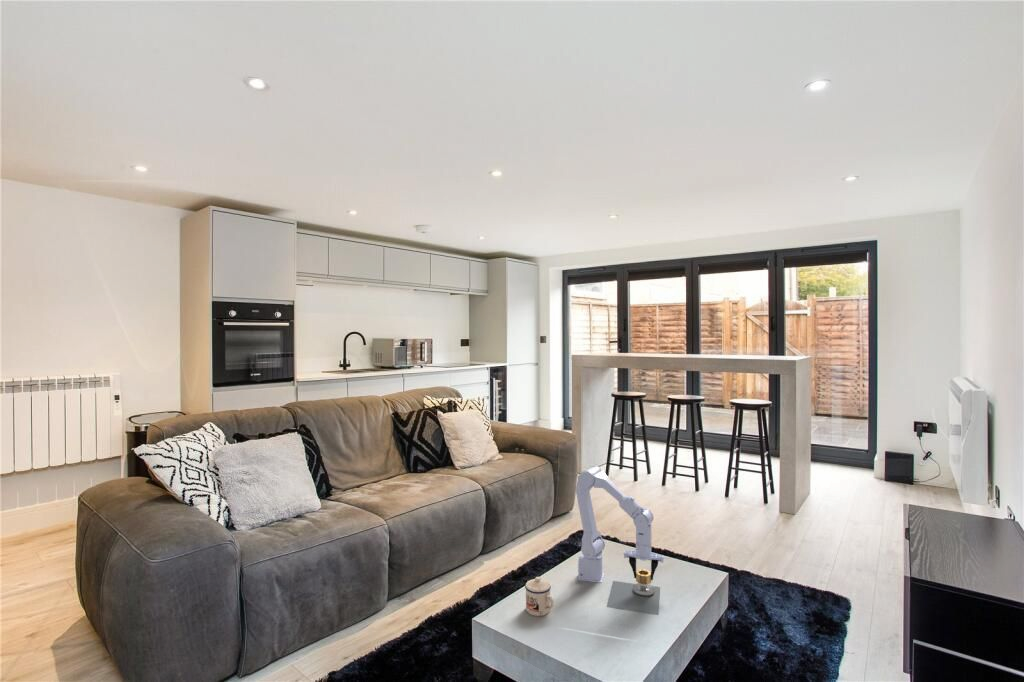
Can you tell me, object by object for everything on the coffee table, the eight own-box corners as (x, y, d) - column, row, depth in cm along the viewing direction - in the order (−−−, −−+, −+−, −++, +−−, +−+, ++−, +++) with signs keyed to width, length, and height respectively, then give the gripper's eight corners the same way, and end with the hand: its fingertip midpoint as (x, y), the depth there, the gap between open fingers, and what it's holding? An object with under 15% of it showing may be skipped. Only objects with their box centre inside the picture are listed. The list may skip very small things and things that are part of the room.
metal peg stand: (631, 595, 196) (631, 584, 196) (633, 584, 204) (633, 574, 204) (653, 598, 194) (653, 587, 194) (654, 587, 201) (654, 577, 201)
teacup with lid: (520, 609, 188) (519, 577, 187) (538, 600, 194) (537, 569, 193) (544, 623, 179) (543, 589, 178) (562, 613, 185) (562, 581, 184)
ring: (635, 583, 197) (635, 574, 197) (636, 576, 202) (636, 568, 202) (650, 585, 195) (650, 576, 195) (651, 578, 200) (651, 570, 200)
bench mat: (606, 607, 188) (606, 606, 188) (613, 581, 207) (613, 580, 207) (658, 616, 183) (658, 614, 183) (660, 588, 202) (660, 587, 202)
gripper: (623, 544, 197) (623, 580, 197) (663, 549, 192) (663, 585, 193) (624, 537, 203) (624, 571, 204) (663, 541, 199) (663, 576, 199)
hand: (643, 578), depth 199 cm, fingers closed on ring, 5 cm apart
